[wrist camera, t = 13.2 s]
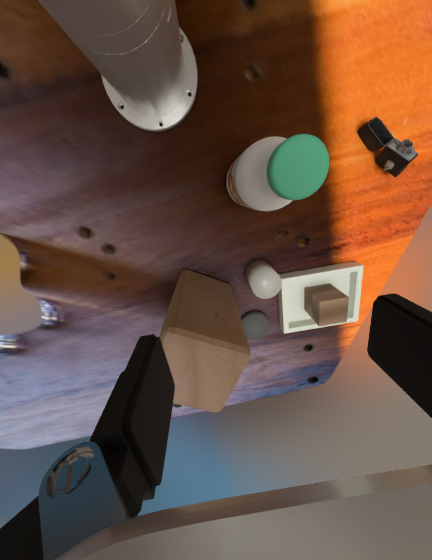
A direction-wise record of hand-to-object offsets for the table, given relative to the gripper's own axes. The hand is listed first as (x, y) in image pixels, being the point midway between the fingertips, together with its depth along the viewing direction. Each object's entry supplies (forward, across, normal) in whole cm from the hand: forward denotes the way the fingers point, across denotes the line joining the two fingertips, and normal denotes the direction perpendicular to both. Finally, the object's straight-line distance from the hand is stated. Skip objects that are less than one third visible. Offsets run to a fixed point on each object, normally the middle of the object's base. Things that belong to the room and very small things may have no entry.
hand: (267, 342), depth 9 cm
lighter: (+31, -26, -8) cm, 41 cm away
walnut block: (+30, -17, +16) cm, 38 cm away
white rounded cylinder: (+30, -6, +9) cm, 32 cm away
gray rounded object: (+31, -4, +20) cm, 37 cm away
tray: (+30, -17, +16) cm, 38 cm away
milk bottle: (+31, -6, -7) cm, 32 cm away
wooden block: (+31, +6, +12) cm, 33 cm away
